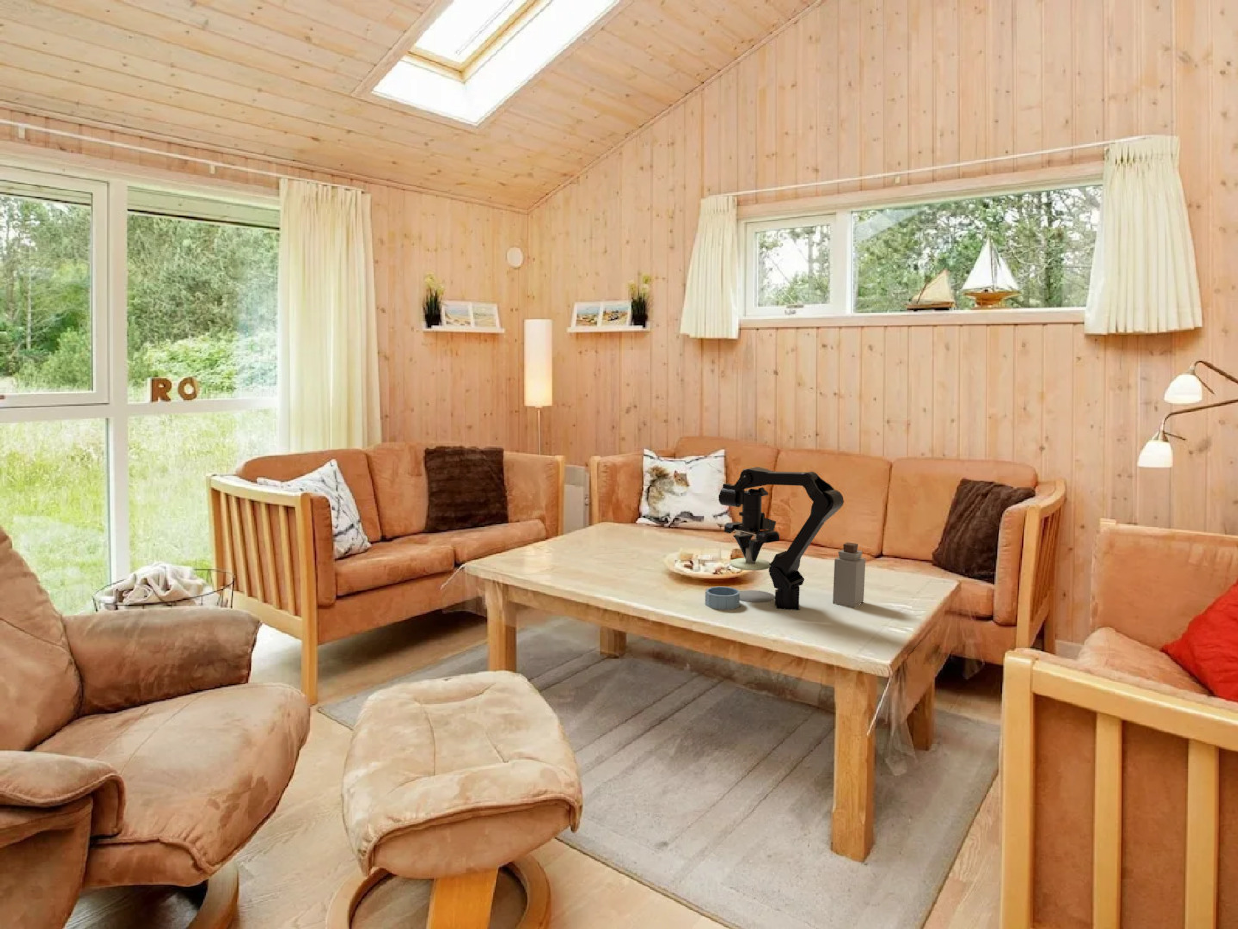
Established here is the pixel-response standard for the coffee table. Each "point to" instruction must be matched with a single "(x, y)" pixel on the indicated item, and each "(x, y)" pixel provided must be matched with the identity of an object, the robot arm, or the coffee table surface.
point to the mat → (756, 596)
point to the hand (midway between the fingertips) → (750, 559)
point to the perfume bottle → (849, 576)
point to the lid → (750, 562)
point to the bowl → (722, 598)
